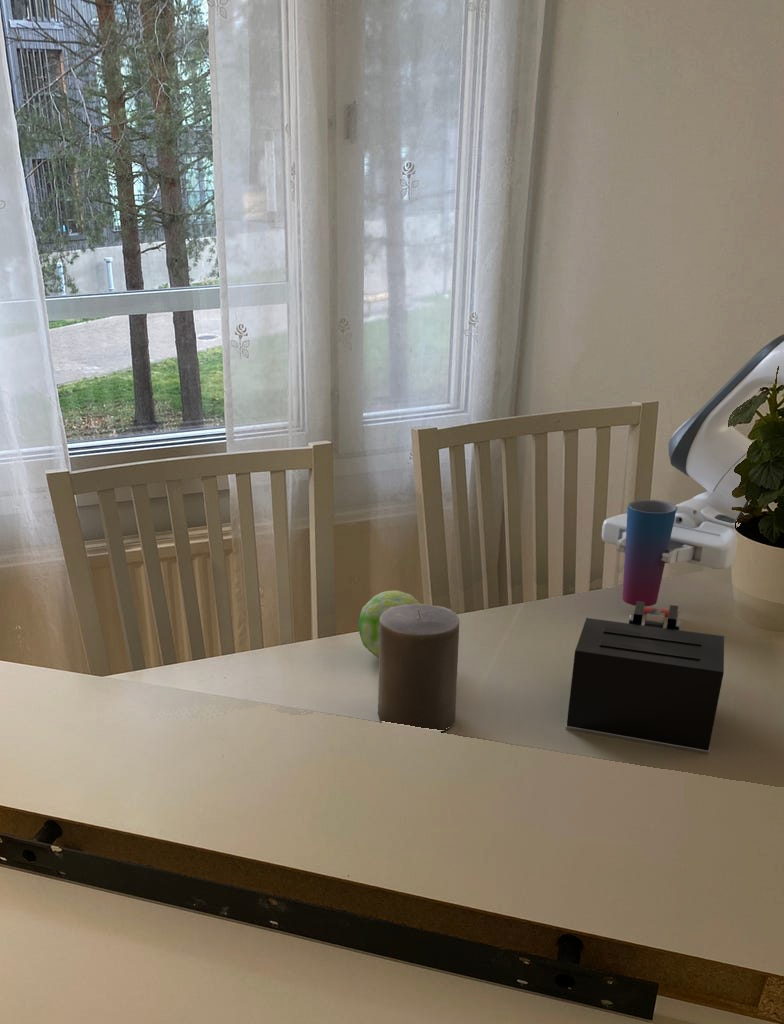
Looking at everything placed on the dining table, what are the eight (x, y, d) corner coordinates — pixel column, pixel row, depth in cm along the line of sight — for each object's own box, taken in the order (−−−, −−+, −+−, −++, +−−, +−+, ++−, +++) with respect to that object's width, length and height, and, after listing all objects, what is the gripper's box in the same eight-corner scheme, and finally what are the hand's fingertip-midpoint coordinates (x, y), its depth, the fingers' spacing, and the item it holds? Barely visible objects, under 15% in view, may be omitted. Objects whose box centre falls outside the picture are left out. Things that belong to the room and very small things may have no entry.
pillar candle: (427, 746, 109) (431, 632, 102) (362, 720, 115) (362, 611, 108) (470, 713, 116) (476, 605, 109) (406, 691, 121) (409, 586, 115)
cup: (607, 595, 142) (618, 502, 136) (644, 589, 144) (657, 497, 138) (634, 611, 137) (646, 515, 130) (672, 604, 138) (687, 509, 132)
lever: (634, 617, 126) (636, 600, 125) (676, 623, 124) (679, 606, 123) (629, 630, 115) (632, 612, 115) (675, 636, 113) (679, 618, 113)
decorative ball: (441, 660, 129) (444, 595, 125) (387, 680, 124) (388, 613, 120) (397, 636, 137) (398, 574, 132) (343, 654, 132) (343, 590, 127)
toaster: (709, 715, 114) (725, 634, 109) (708, 757, 105) (725, 671, 100) (576, 693, 120) (585, 616, 115) (564, 731, 111) (574, 649, 106)
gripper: (629, 499, 150) (583, 518, 142) (754, 524, 137) (712, 547, 128) (624, 535, 153) (579, 556, 145) (747, 564, 139) (705, 589, 131)
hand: (643, 552), depth 136 cm, fingers closed on cup, 6 cm apart
